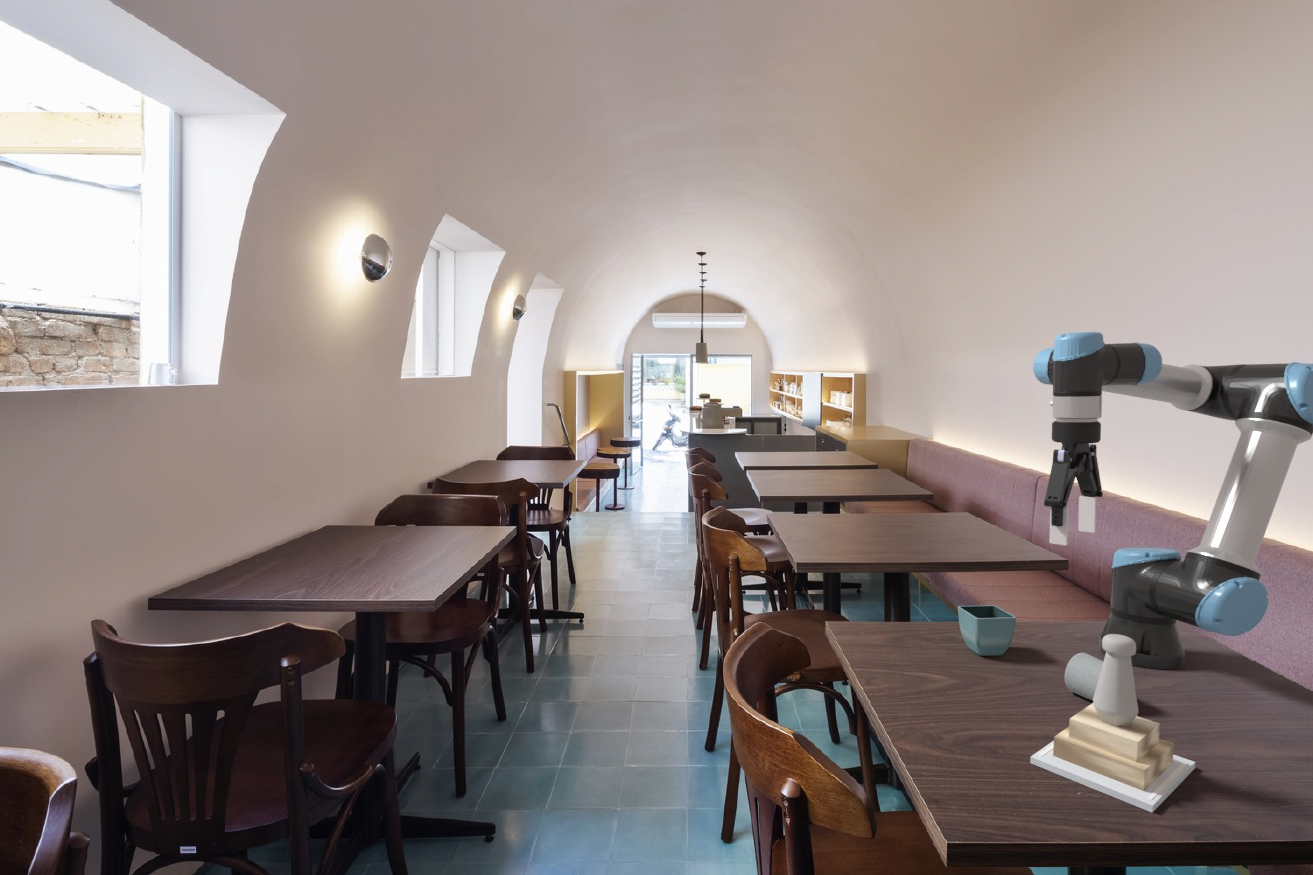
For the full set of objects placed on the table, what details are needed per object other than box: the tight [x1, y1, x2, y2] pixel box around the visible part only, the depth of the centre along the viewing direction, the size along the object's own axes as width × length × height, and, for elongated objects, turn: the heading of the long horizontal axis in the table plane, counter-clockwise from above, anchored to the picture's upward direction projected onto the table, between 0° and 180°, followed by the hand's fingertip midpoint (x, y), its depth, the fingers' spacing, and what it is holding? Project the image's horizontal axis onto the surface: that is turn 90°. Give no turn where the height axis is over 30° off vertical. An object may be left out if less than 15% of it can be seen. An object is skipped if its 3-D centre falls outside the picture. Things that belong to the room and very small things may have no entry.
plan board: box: [1029, 740, 1196, 813], centre depth 108 cm, size 18×16×1 cm
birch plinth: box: [1053, 702, 1175, 791], centre depth 108 cm, size 12×12×6 cm
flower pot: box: [957, 604, 1017, 657], centre depth 153 cm, size 9×9×9 cm
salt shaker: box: [1092, 634, 1139, 727], centre depth 107 cm, size 6×6×13 cm
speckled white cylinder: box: [1063, 652, 1104, 701], centre depth 131 cm, size 11×8×8 cm
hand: (1073, 537), depth 129 cm, fingers open, 13 cm apart
